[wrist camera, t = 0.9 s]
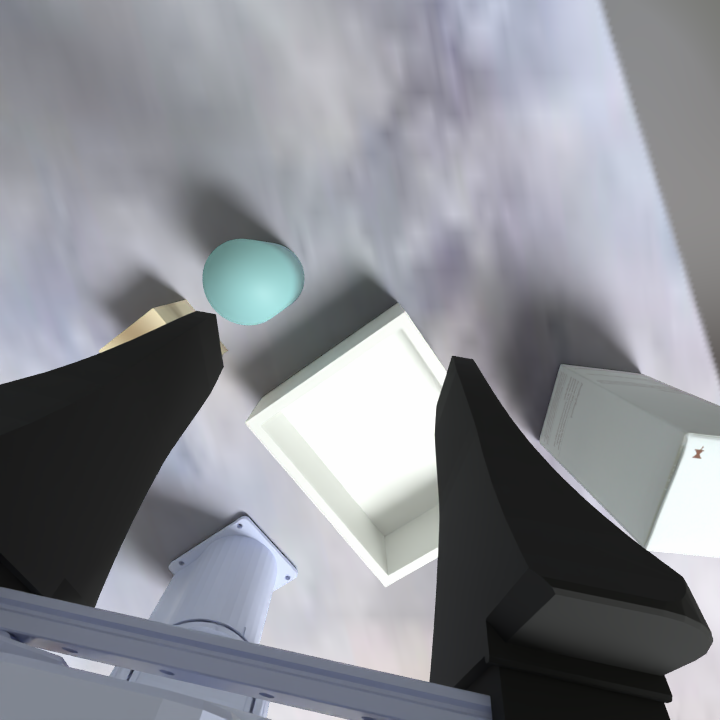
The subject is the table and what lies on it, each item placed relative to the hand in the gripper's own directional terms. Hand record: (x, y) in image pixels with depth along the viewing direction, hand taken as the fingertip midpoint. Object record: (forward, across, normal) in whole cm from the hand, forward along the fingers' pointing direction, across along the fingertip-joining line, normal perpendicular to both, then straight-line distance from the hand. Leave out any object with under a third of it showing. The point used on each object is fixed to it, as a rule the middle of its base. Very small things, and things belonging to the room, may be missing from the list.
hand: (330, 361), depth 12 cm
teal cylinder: (+17, +8, +6) cm, 19 cm away
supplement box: (+17, -20, +14) cm, 29 cm away
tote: (+13, -3, +17) cm, 22 cm away
